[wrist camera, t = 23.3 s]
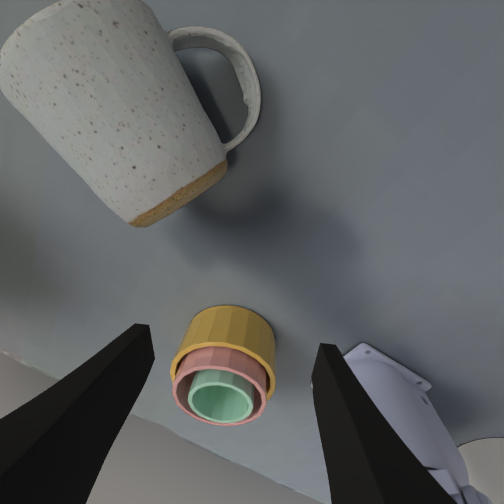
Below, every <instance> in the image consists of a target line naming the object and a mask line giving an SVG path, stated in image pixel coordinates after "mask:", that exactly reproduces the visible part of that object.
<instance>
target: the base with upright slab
mask: <svg viewBox="0 0 504 504" xmlns="http://www.w3.org/2000/svg"><path fill="white" fill-rule="evenodd" d="M458 450H459V451H460V453H461V455H462V457H463V459H464V461H465V464H466V467H467V471H468V476H469V485H472V486H473V487H474V488H475V489H476V490H477V491H479V492H481V493H483V494H484V495H486V496H487V497H488V498H489V499H490V500H491V502H492V503H493V504H504V438H486V439H480V440H475V441H472V442H469V443H466V444H463V445H462V446H460V447H458Z"/></svg>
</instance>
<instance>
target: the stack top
mask: <svg viewBox="0 0 504 504" xmlns="http://www.w3.org/2000/svg"><path fill="white" fill-rule="evenodd" d="M205 369H217V370H226V371H229V372H232V373H235V374H238V375H241V376H243V377H244V378H246V379H247V380H248V381H250V382H251V383H253V384H254V385H255V391H254V404H253V409H252V412H251V414H250V415H249V416H248V417H247V418H245V419H244V420H241V421H238V422H235V423H219V422H214V421H210V420H207V419H205V418H203V417H201V416H199V415H198V414H197V413H195V412H194V411H193V410H192V409H191V407H190V405H189V403H188V395H189V391H190V388H191V385H192V382H193V379H194V376H195V372H196V371H197V370H205ZM172 394H173V397H174V399H175V402H176V404H177V405H178V406H179V407H180V408H181V409H182V410H183V411H184V412H185V413H187V414H189V415H190V416H192V417H194V418H195V419H197V420H200V421H203V422H206V423H209V424H213V425H221V426H234V425H242V424H245V423H248V422H251V421H253V420H255V419H256V418H257V417H258V416H260V415H261V414H262V413H263V411H264V408H265V406H266V404H267V371H266V368H265V367H264V366H263V365H262V364H261V363H260V362H259V361H258V360H257V359H255V358H254V357H252V356H250V355H248V354H246V353H244V352H243V351H240V350H236V349H232V348H228V347H220V346H207V347H203V348H198V349H194V350H192V351H191V352H189V353H187V354H185V355H184V357H183V360H182V362H181V365H180V367H179V370H178V372H177V375H176V377H175V380H174V382H173V389H172Z"/></svg>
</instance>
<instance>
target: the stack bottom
mask: <svg viewBox="0 0 504 504" xmlns="http://www.w3.org/2000/svg"><path fill="white" fill-rule="evenodd" d="M207 346H220V347H228V348H232V349H236V350H240V351H243V352H244V353H246V354H248V355H250V356H252V357H254V358H255V359H257V360H258V361H259V362H260V363H261V364H262V365H263V366H264V367H265V368H266V371H267V401H268V400H269V399H270V398H271V396H272V394H273V392H274V390H275V388H276V377H275V337H274V333H273V331H272V329H271V327H270V326H269V324H268V323H267V322H266V321H265V320H264V319H263V318H262V317H260V316H259V315H258V314H256V313H254V312H252V311H250V310H248V309H245V308H242V307H238V306H231V305H221V306H214V307H211V308H208V309H205V310H203V311H201V312H200V313H198V314H197V315H196V316H195V317H194V318H193V319H192V320H191V322H190V324H189V326H188V327H187V329H186V332H185V334H184V336H183V338H182V341H181V343H180V345H179V347H178V350H177V352H176V354H175V356H174V358H173V361H172V364H171V370H170V375H171V378H172V382H174V380H175V377H176V375H177V372H178V370H179V367H180V365H181V362H182V360H183V357H184V355H185V354H187V353H189V352H191V351H192V350H194V349H198V348H203V347H207Z"/></svg>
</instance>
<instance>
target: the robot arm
mask: <svg viewBox="0 0 504 504" xmlns="http://www.w3.org/2000/svg"><path fill="white" fill-rule="evenodd" d="M367 350H368V351H367ZM154 360H155V356H154V350H153V345H152V339H151V333H150V328H149V325H145V324H136V323H135V324H134V325H132V326H131V327H130V328H129V329H127V330H126V331H125V332H123V333H122V334H121V335H120V336H118V337H117V338H116V339H115V340H113V341H112V342H111V343H109V344H108V345H107V346H106V347H104V348H103V349H102V350H101V351H99V352H98V353H97V354H95V355H94V356H93V357H91V358H90V359H89V360H87V361H86V362H85V363H83V364H82V365H81V366H79V367H78V368H77V369H75V370H74V371H72V372H71V373H70V374H68V375H67V376H65V377H64V378H63V379H61V380H60V381H58V382H57V383H56V384H54V385H53V386H52V387H50V388H48V389H47V390H46V391H44V392H43V393H41V394H39V395H38V396H37V397H35V398H33V399H32V400H31V401H29V402H27V403H26V404H24V405H22V406H21V407H19V408H18V409H16V410H14V411H13V412H11V413H10V414H8V415H6V416H5V417H3V418H1V419H0V504H86V502H87V499H88V497H89V495H90V492H91V489H92V488H93V485H94V483H95V481H96V479H97V476H98V474H99V472H100V470H101V467H102V465H103V463H104V460H105V458H106V456H107V454H108V452H109V450H110V448H111V446H112V444H113V442H114V440H115V438H116V437H117V435H118V433H119V431H120V429H121V427H122V426H123V424H124V422H125V420H126V418H127V416H128V414H129V413H130V411H131V409H132V407H133V405H134V403H135V401H136V400H137V398H138V396H139V394H140V392H141V390H142V388H143V386H144V384H145V382H146V380H147V377H148V375H149V373H150V370H151V367H152V365H153V362H154ZM310 385H311V388H312V389H313V398H314V406H315V411H316V417H317V422H318V427H319V432H320V437H321V442H322V447H323V452H324V458H325V463H326V468H327V473H328V479H329V485H330V493H331V501H332V504H493V503H492V502H491V500H490V499H489V498H488V497H487V496H486V495H484V494H483V493H481V492H479V491H477V490H476V489H475V488H474V487H473V486H472V485H469V476H468V471H467V467H466V464H465V461H464V459H463V457H462V455H461V453H460V451H459V450H458V448H457V446H456V445H455V443H454V441H453V440H452V438H451V436H450V434H449V433H448V431H447V429H446V428H445V426H444V424H443V423H442V421H441V419H440V417H439V416H438V414H437V412H436V411H435V409H434V407H433V406H432V404H431V402H430V401H429V399H428V397H427V395H426V394H425V391H427V390H429V389H430V388H431V384H430V383H429V382H428V381H426V380H425V379H423V378H422V377H420V376H418V375H417V374H415V373H413V372H412V371H410V370H408V369H407V368H405V367H404V366H402V365H400V364H399V363H397V362H395V361H394V360H392V359H390V358H389V357H387V356H385V355H384V354H382V353H381V352H379V351H377V350H376V349H374V348H372V347H371V346H369V345H367V344H365V343H361V344H359V345H358V346H356V347H355V348H354V349H353V350H351V351H350V352H349V353H347V354H346V355H345V356H344V357H343V356H342V354H341V352H340V351H339V349H338V347H337V346H336V345H334V344H325V343H320V346H319V349H318V353H317V357H316V361H315V365H314V369H313V372H312V381H311V383H310Z"/></svg>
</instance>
